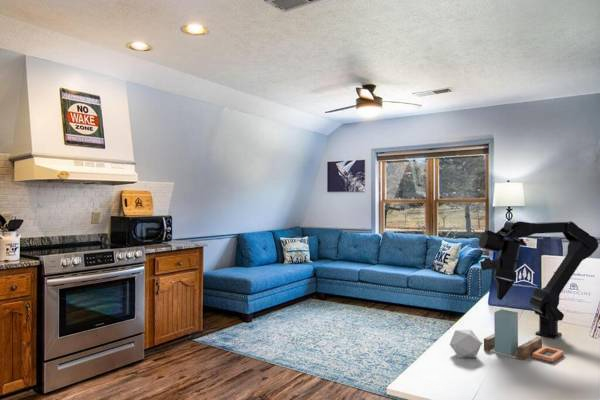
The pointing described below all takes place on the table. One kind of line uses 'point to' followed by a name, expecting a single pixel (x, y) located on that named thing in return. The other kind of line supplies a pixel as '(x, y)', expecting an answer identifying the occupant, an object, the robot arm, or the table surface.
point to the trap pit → (548, 354)
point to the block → (506, 332)
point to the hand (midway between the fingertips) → (499, 299)
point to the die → (465, 343)
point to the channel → (522, 350)
